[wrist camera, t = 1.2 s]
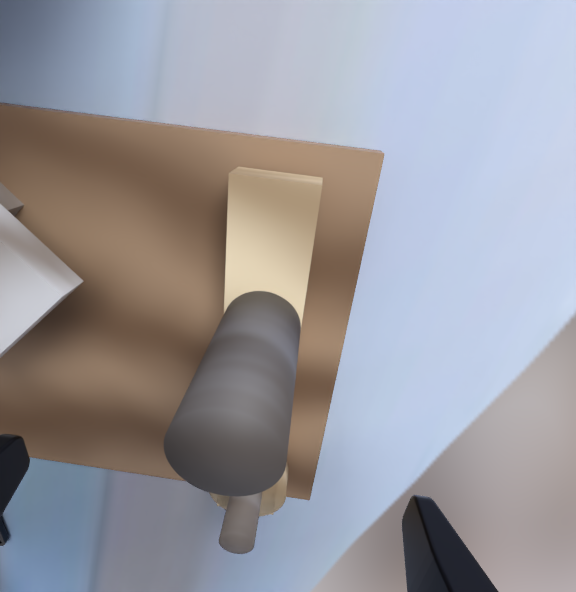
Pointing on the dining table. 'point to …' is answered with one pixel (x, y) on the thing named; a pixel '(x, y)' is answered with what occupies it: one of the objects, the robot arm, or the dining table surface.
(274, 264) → the lever
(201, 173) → the keeper board
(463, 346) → the dining table surface
